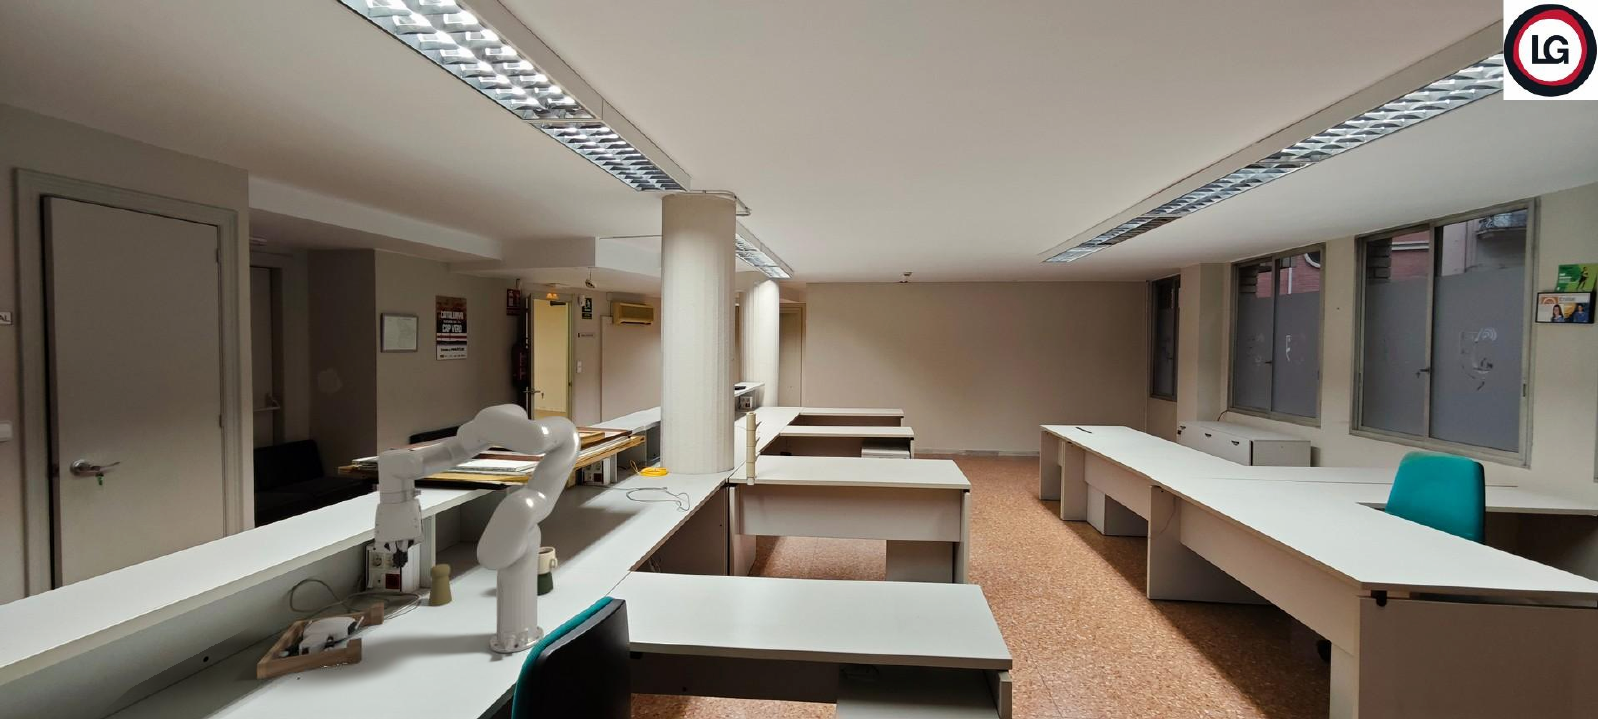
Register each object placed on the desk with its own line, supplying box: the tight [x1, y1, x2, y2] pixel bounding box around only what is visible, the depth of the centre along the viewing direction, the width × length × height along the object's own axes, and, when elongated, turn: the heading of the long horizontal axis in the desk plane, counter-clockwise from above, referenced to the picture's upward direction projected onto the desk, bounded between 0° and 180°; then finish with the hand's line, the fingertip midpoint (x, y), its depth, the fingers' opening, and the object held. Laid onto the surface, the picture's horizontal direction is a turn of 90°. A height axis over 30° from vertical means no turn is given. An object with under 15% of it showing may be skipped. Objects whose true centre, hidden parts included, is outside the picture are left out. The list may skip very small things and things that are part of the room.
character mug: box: [537, 546, 558, 595], centre depth 178 cm, size 11×7×13 cm, turn 72°
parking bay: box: [256, 602, 385, 680], centre depth 144 cm, size 23×19×5 cm
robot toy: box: [279, 617, 363, 658], centre depth 144 cm, size 12×4×15 cm
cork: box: [427, 563, 453, 607], centre depth 170 cm, size 6×6×11 cm
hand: (401, 566), depth 150 cm, fingers closed
